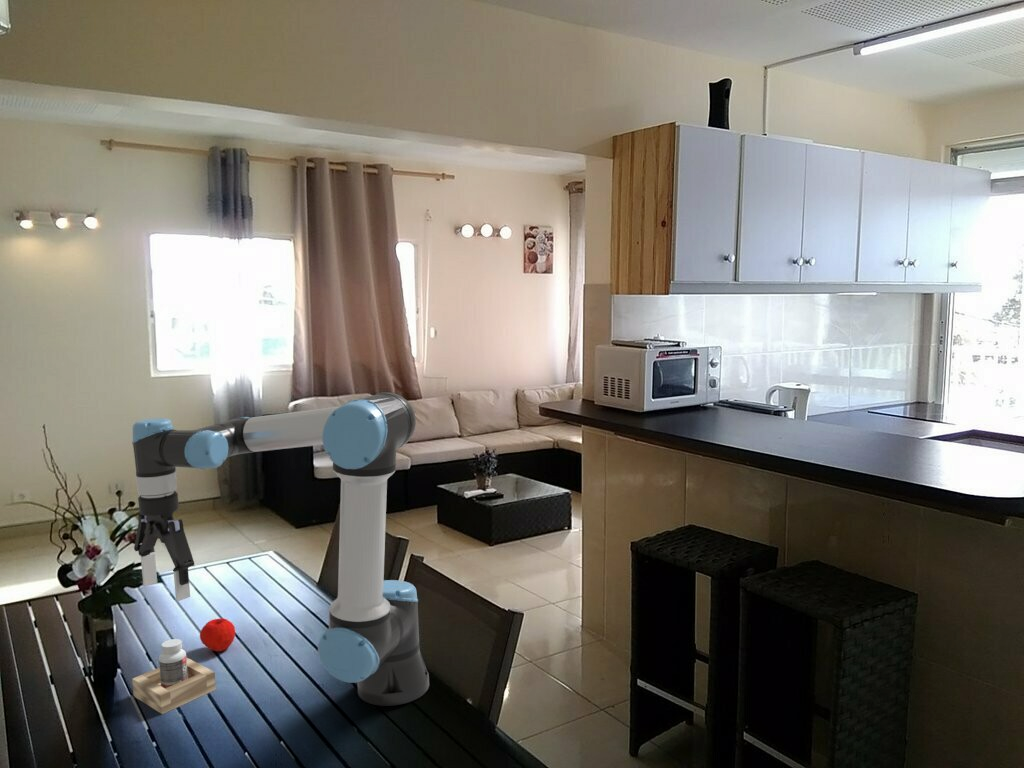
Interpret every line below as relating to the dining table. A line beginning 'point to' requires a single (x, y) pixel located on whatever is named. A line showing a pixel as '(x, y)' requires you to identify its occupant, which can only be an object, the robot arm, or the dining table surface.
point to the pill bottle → (172, 663)
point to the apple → (218, 634)
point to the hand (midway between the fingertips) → (166, 591)
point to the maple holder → (173, 687)
